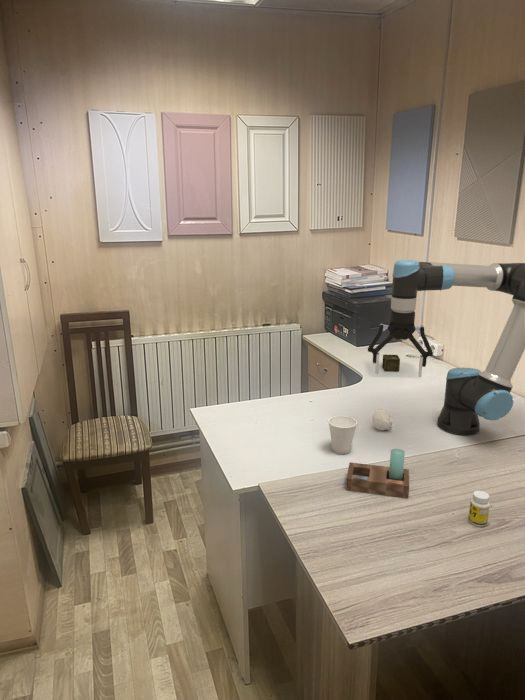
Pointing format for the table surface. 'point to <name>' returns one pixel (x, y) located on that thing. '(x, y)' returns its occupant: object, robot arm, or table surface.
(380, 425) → the beige round lump
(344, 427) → the cup
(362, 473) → the socket block
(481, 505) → the supplement bottle
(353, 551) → the table surface
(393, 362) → the wooden crate
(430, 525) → the table surface
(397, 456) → the plug
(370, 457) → the table surface
